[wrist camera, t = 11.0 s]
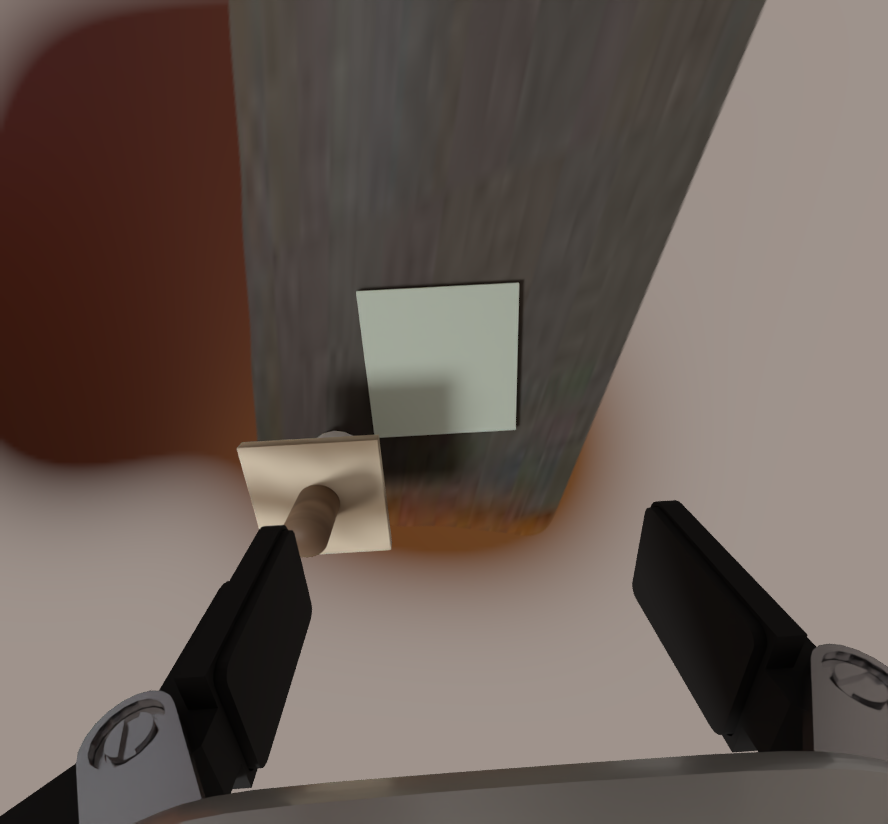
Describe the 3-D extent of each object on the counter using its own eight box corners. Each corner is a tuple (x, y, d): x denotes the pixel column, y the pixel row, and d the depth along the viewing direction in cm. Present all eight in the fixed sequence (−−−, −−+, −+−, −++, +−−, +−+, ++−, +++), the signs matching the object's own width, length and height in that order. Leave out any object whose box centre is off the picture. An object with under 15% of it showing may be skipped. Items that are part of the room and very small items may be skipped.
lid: (241, 442, 33) (208, 479, 28) (378, 434, 33) (369, 469, 28) (271, 549, 37) (246, 598, 32) (391, 542, 37) (386, 589, 32)
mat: (357, 290, 35) (356, 291, 35) (518, 282, 35) (519, 282, 35) (375, 435, 41) (374, 437, 40) (514, 427, 41) (515, 429, 40)
